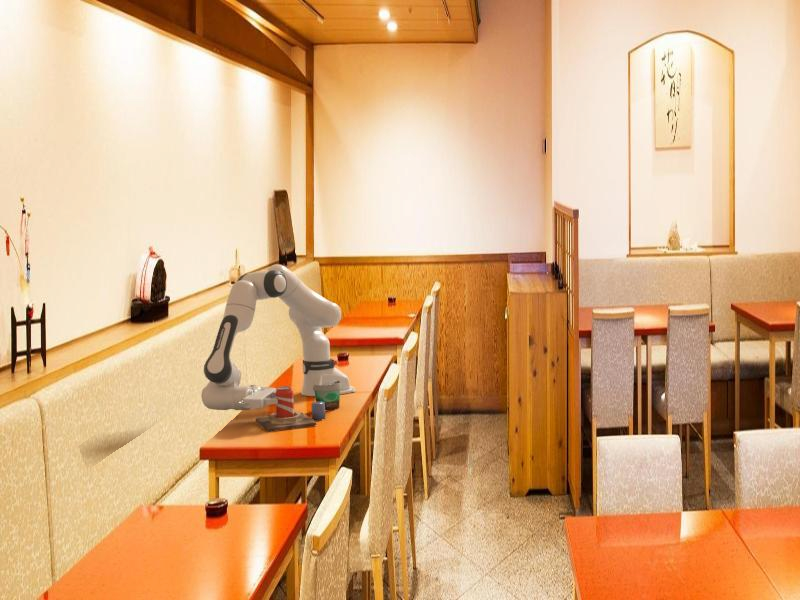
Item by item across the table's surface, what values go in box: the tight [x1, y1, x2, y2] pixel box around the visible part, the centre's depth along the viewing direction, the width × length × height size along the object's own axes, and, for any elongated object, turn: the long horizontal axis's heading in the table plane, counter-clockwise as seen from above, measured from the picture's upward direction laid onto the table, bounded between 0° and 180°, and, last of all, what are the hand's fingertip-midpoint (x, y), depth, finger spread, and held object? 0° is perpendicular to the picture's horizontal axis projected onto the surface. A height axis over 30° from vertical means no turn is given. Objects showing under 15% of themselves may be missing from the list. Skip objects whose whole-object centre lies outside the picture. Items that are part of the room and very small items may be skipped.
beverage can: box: [275, 385, 295, 418], centre depth 366 cm, size 6×6×12 cm
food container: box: [313, 380, 342, 411], centre depth 387 cm, size 12×6×10 cm, turn 129°
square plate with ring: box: [254, 411, 317, 433], centre depth 366 cm, size 18×18×3 cm
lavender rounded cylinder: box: [310, 401, 326, 421], centre depth 372 cm, size 5×5×6 cm
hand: (281, 398), depth 365 cm, fingers open, 8 cm apart
